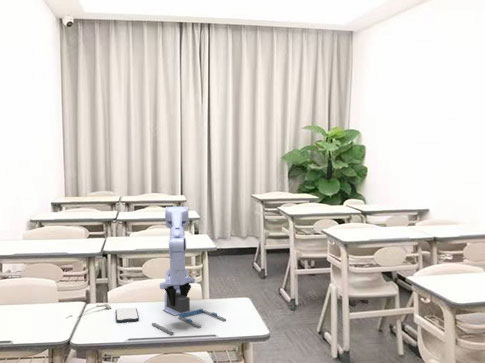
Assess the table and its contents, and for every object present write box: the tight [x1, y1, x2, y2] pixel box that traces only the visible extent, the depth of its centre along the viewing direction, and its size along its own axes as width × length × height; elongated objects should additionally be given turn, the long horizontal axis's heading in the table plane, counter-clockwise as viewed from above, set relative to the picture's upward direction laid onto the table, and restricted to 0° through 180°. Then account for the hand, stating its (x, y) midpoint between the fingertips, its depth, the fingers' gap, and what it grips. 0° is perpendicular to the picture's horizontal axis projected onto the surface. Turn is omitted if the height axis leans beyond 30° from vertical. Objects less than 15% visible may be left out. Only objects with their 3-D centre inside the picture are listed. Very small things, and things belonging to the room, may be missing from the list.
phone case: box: [115, 307, 140, 324], centre depth 202 cm, size 9×2×16 cm
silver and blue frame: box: [151, 308, 227, 337], centre depth 194 cm, size 15×25×2 cm, turn 130°
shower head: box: [81, 303, 112, 315], centre depth 206 cm, size 5×3×20 cm
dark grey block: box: [167, 293, 191, 313], centre depth 190 cm, size 10×4×5 cm, turn 39°
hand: (177, 304), depth 190 cm, fingers closed on dark grey block, 4 cm apart
